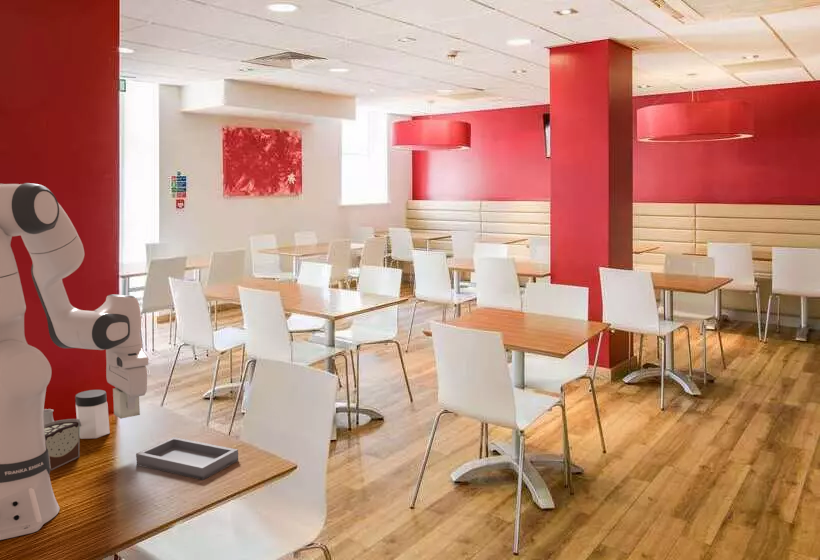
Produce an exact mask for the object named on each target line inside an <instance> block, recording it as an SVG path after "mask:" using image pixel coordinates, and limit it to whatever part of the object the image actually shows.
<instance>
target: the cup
mask: <svg viewBox="0 0 820 560" xmlns="http://www.w3.org/2000/svg"><path fill="white" fill-rule="evenodd" d="M112 397H113V399H112V400H113V401H112V402H113V415H115V416H116V417H118V418H119V419H120V420H121V419H126V418H130V417H132V418H133V417H136V416H140V415H141V411H140V409H141V408H140V396H139V397H137V398H136V401H135V409H131V410H129V409H128V408H127V407H126V402H127V400H128V397H127V394H126V393H124V392H123V391H121V390H119V389H118V388H112Z"/></svg>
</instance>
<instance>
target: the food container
mask: <svg viewBox="0 0 820 560" xmlns="http://www.w3.org/2000/svg"><path fill="white" fill-rule="evenodd" d="M80 426H81V422H80V421H79V419H77V418H66V419H59V420H54V422H50V423H47V424H45V425H44V432H45V444H46V449H48V452H49V457H50V472H51V471H53V470H55V469H57V468H59V467H61V466H64V465H65V464H68V463H69V462H72V461H74V460H76V459H78V458H80V437H79V435H80Z"/></svg>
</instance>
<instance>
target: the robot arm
mask: <svg viewBox="0 0 820 560" xmlns="http://www.w3.org/2000/svg"><path fill="white" fill-rule="evenodd" d="M18 236H20V237H21V239H22V242H23V245H24V246H25V248H26V250H27V252H28V254H29V257H30V258H31V262H32V264H31V267H30V274H31V278H32V281H33V285H34V287H35V291H36V293H37V296H38V298H39V301H40V303H41V306H42V309H43V310H44V314H45V317H46V321H47V329H48V334H49V338H50V340H51V341H52V342H53V344H54V345H55V346H57V347H59V348H61V349H84V350H94V351H95V350H96V351H97V350H98V351H104V350H105V360H106V361H105V362H106V367H105V368H106V369H105V371H106V372H105V373H106V374H105V375H106V376H105V377H106V382H107V384H109V385H111V386H113V387H115V388H118V389H119V390H121V391H123V392H124V393H126V394H127V397H128V400H127V402H126V407H127V408H128V409H129V410H131V409H135V401H136V398H137V397H139V398H140V397H143V396H145V395H146V393H147V388H148V372H147V371H148V369H147V367H146V366H148V365H149V357H148V356H147V355H146V353H145V352H144V349H143V341H142V337H141V331H142V330H141V329H142V314H141V308H140V303H139V301H138V299H137V297H135V296H133V295H127V294H115V293H114V294H108V295H107V296H106V297H105V301H104V302H103V304H101V305H100V306H98V308H96V309H94V310H87V309H86V310H83V309H79V308H77V307H75V306H73V305H72V304H71V302H70V299H69V296H68V294H67V291H66V288H65V286H64V282H63V279H65V278H67V277H69V276H70V275H71V274H73V273H75V272H76V271H77V270H78V269H79V268H80V266H81V265H82V263H83V262H84V259H85V249H84V244H83V242H82V240H81V238H80V236H79V234H78V232H77V229H76V227H75V226H74V224H73V222H72V220H71V219H70V217H69V216H68V213H66V211H65V210H64V208H63V207H62V205H61V204H60V203H59V202H58V200H57V197H56V196H55V194H54V193H53V192H52V191H51V190H50V189H49V188H48V187H46V185H45V186H44V185H42V184H38V183H30V182H24V183H20V184H19V183H0V541H2V540H7V539H12V538H17V537H19V536H24V535H29V534H33V533H35V532H38V531H40V529H41V528H42V527H43V525H44V524H46V523H48V522H50V521H51V520H52V519H53V518H55V517H56V516H57V515H58V513H59V512H60V506H59V504H58V501H57V499H56V496H55V493H54V489H53V487H52V482H51V477H50V476H51V475H50V474H51V471H50V457H49V452H48V449H46V444H45V432H44V419H43V413H44V410H45V401H46V394H47V393H46V392H47V387H48V385H49V384H50V381H51V378H52V366H51V364H50V362H49V360H48V358H47V357H46V355H44V353H43V352H42V351H41V350H40V349H38V348H37V347H36V346H32V345H31V344H28V341H27V339H26V336H25V313H26V312H27V311H26V310H27V305H26V300H25V296H24V291H23V286H22V283H21V277H20V273H19V269H18V265H17V262H16V259H15V255H14V252H13V249H12V247H11V242H12V238H13V237H18Z"/></svg>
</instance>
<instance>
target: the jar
mask: <svg viewBox="0 0 820 560" xmlns="http://www.w3.org/2000/svg"><path fill="white" fill-rule="evenodd" d="M74 400H75V413H76V415H75V416H76V419H79V421H80V422H81V426H80V435H79V440H80V439H81V440H83V439H87V440H88V439H90V440H91V439H98V438H101V437H103V436H106V435H109V434H110V421H109V406H108V405H109V404H108V401H107V392H106V390H103V389H89V390H84V391H81V392H78V393H76V394H75V396H74Z"/></svg>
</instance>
